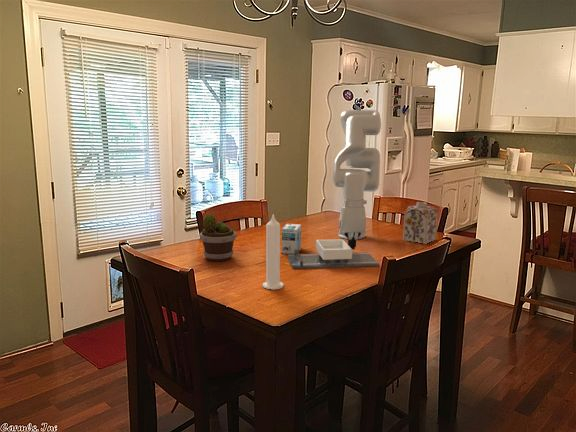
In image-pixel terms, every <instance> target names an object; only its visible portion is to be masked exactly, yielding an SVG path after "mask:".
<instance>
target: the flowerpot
mask: <svg viewBox="0 0 576 432" xmlns="http://www.w3.org/2000/svg"><path fill="white" fill-rule="evenodd" d="M201 226H202V227H203V229H202V231H201V232H200V233H199V239H200V241H201V242H202V246H203V249H204V250H203V253H202V254H203V256H204V257H205V258H206V260H208V261H210V262H223V260H224V261H228V260H230V259H231V258H232V256H233V254H234V249H233V247H234V241H235V240H236V238H238V236H237V232H236V231H235V230H234V229H233V228H231V227H229V226H228V225H226V223H224V222H223V220H221V219H220V220H218V218H217V217H216V215H215V214H213V212H212V211H211V213H210V211H208V210H207V211H206V213H205V215H203V219H202V225H201Z"/></svg>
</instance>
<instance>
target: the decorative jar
mask: <svg viewBox="0 0 576 432" xmlns="http://www.w3.org/2000/svg"><path fill="white" fill-rule="evenodd" d="M403 218H404V219H403V228H402V229H403V231H402V232H403V233H402V240H403V242H409V241H411V242H410V243H414V242H418V243H417V244H420V243H423V244H422V245H425V244H426V245H427V243H428V244H429V242H430V243H432V242H434V241H436V239H437V237H436V236H437V226H438V211H437V210H436V209H435V208H434V206H431V205H428V203H427V202H424V201H417V202H416V204H415V205H410V206H408V207H407V209H406V210H405V211H404V217H403ZM431 241H432V242H431Z"/></svg>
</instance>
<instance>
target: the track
mask: <svg viewBox="0 0 576 432" xmlns="http://www.w3.org/2000/svg"><path fill="white" fill-rule="evenodd" d="M286 255H287V256H286V257H287V259H288V263H289V264H290V266H291V269H292V270H301V269H302V270H303V269H305V270H306V269H332V268H333V269H335V268H366V267H365V266H375V267H380V263H379V261H377V260H376V259H375V258H374V257H373V256H372V255H371V254H370V253H369V251H368V252H366V251H365V252H364V251H363V252H352V259H348V260H349V261H348V263H344V262H343V259H330V260H331V262H330V263H329V264H327V263H326V262H325V260H323V259H322V257H321V256H320V254H319V253H300V251H299V252H298V251H297V250H295V254H286Z"/></svg>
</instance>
